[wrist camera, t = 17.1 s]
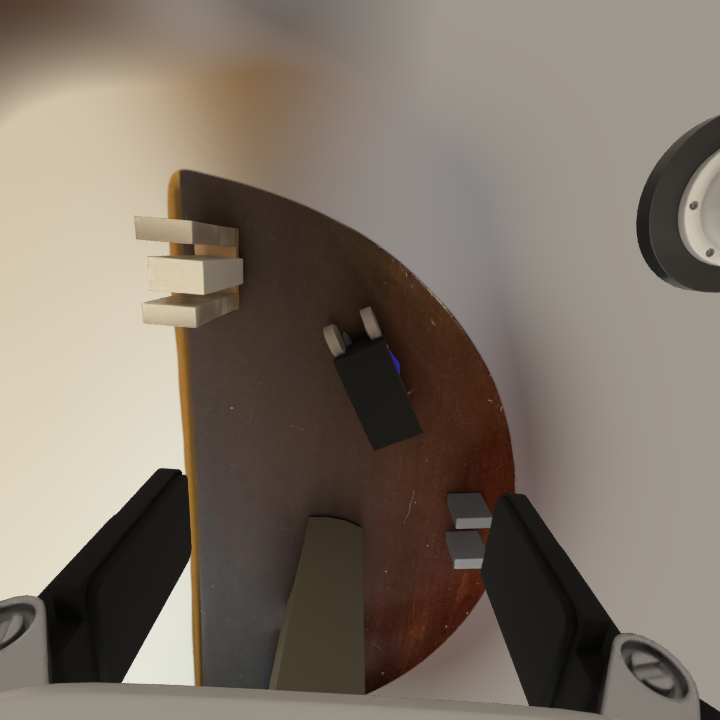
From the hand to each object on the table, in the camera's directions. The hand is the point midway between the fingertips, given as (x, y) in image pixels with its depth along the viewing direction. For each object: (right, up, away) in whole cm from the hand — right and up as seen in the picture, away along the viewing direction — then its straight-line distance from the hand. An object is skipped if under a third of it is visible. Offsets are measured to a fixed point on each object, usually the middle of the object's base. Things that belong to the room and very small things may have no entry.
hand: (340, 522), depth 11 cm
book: (-5, -26, +44) cm, 51 cm away
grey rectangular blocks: (+15, -17, +41) cm, 47 cm away
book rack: (-16, +15, +31) cm, 38 cm away
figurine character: (+2, +4, +35) cm, 35 cm away
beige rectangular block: (-15, +15, +30) cm, 37 cm away
